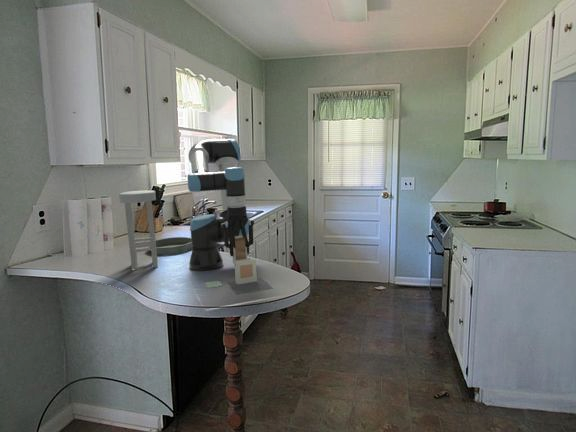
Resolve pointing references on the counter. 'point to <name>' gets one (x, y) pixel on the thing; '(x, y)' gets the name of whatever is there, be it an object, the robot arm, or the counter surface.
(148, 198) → the stool
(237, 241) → the block
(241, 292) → the mat
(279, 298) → the counter surface
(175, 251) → the cake pan
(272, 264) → the counter surface
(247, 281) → the tile
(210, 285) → the rest pad
